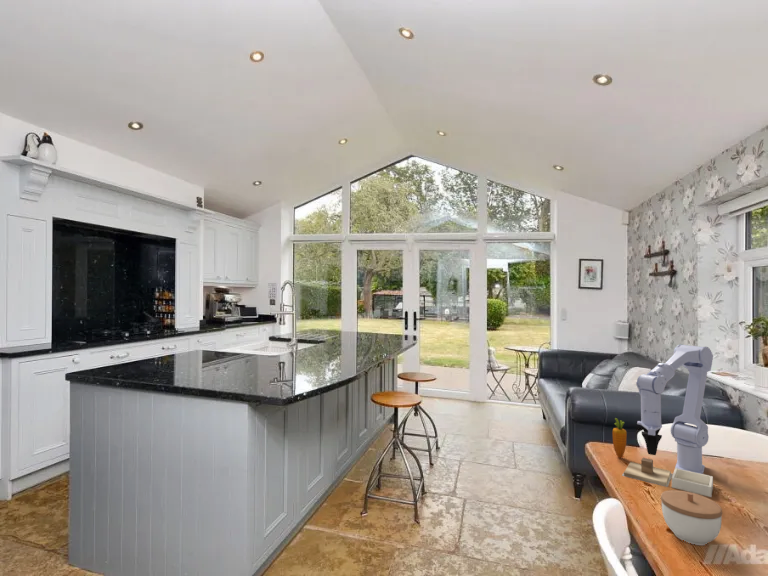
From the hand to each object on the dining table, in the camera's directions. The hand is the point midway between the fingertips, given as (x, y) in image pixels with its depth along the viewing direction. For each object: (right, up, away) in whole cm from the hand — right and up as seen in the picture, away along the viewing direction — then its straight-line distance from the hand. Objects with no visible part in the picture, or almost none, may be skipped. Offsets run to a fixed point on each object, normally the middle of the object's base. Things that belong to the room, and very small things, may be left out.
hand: (651, 450), depth 139 cm
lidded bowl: (-12, -9, -34) cm, 37 cm away
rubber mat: (0, -10, +2) cm, 10 cm away
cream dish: (+9, -9, -7) cm, 15 cm away
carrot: (-1, -10, +17) cm, 20 cm away
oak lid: (0, -9, +2) cm, 9 cm away
